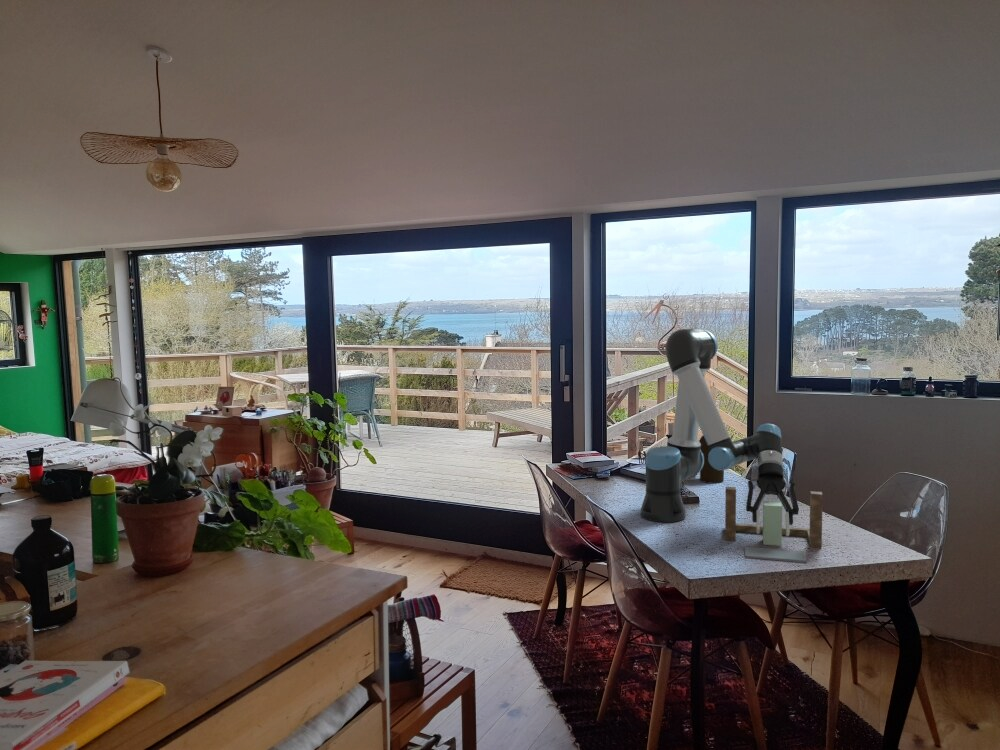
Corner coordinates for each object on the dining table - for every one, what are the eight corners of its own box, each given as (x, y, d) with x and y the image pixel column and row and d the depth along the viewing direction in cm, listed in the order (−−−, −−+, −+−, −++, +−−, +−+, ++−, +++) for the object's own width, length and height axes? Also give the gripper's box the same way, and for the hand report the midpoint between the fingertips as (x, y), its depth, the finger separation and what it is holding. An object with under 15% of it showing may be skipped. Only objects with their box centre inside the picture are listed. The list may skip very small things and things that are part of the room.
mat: (745, 557, 195) (745, 555, 195) (744, 548, 203) (744, 546, 203) (806, 562, 190) (806, 560, 190) (803, 553, 198) (803, 551, 198)
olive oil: (728, 479, 288) (729, 420, 286) (719, 484, 280) (719, 424, 278) (704, 476, 295) (704, 418, 293) (694, 481, 287) (694, 422, 285)
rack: (725, 540, 211) (725, 489, 209) (725, 528, 222) (725, 480, 221) (821, 547, 202) (822, 494, 201) (816, 535, 214) (817, 484, 212)
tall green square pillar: (763, 544, 206) (764, 505, 205) (762, 539, 211) (763, 501, 210) (781, 545, 205) (782, 506, 204) (780, 540, 209) (780, 502, 208)
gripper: (736, 459, 219) (736, 523, 205) (806, 462, 212) (811, 529, 198) (736, 472, 224) (736, 535, 210) (804, 475, 218) (809, 541, 204)
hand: (773, 532), depth 204 cm, fingers open, 8 cm apart
